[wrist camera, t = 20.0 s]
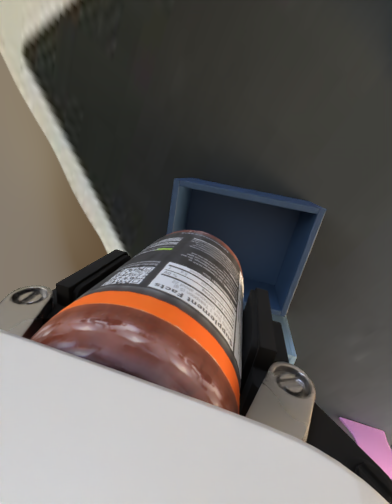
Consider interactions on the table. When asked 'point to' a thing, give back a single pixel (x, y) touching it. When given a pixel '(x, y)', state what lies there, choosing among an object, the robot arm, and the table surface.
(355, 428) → the toy chair
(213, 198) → the navy bin
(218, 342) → the supplement bottle
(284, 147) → the table surface
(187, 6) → the table surface
